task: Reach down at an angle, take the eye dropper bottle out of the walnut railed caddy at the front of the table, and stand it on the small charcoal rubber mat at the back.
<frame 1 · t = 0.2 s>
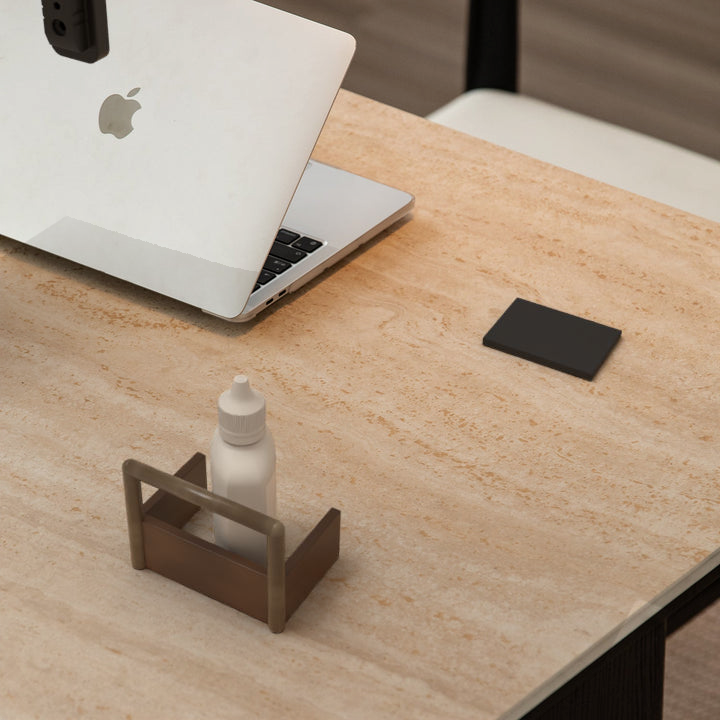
hand: (148, 21, 49), 31 cm above the table, tool pointing down, fingers open, 8 cm apart
eye dropper bottle: (246, 553, 69), on the table
mat: (551, 340, 86), on the table
caddy: (245, 550, 69), on the table
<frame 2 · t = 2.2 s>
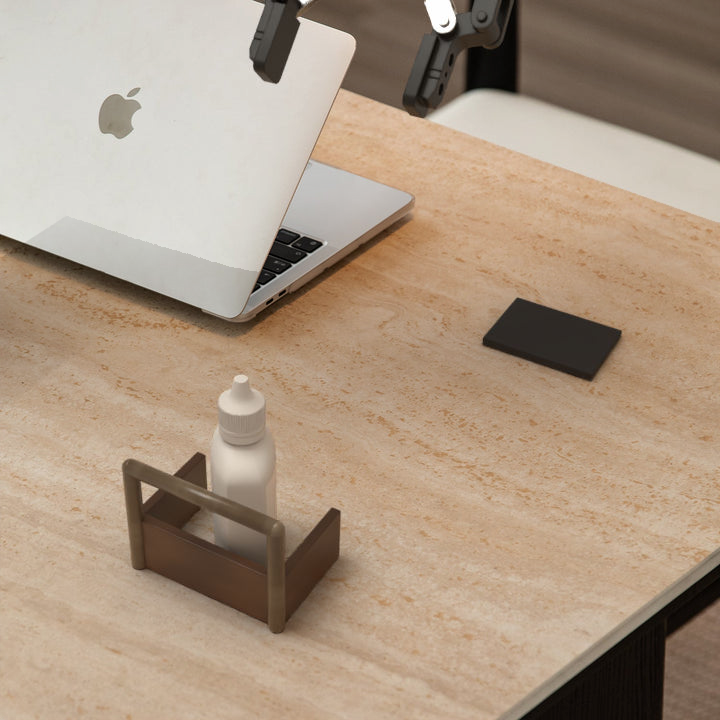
hand: (337, 94, 64), 23 cm above the table, tool tilted 45°, fingers open, 8 cm apart
nothing on the table moved.
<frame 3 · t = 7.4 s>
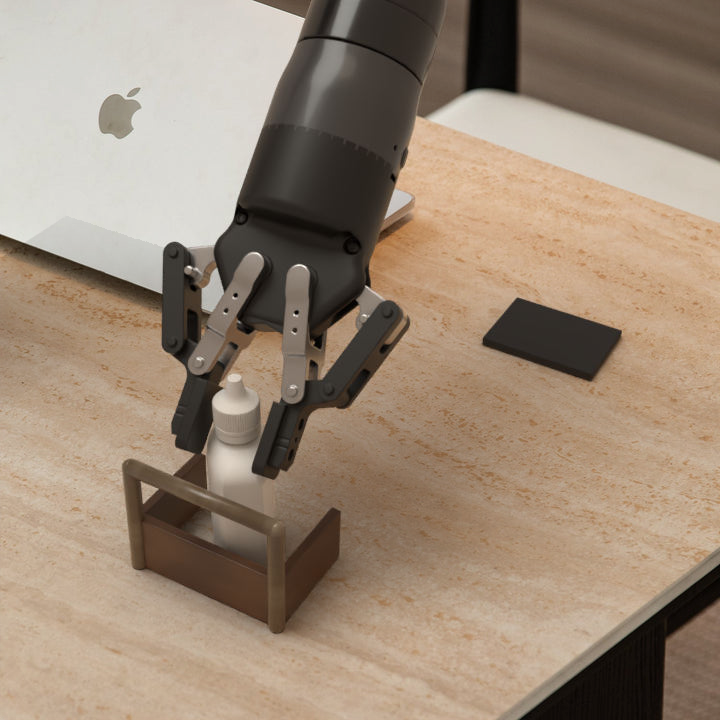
hand: (225, 462, 63), 8 cm above the table, tool tilted 45°, fingers closed on eye dropper bottle, 3 cm apart
eye dropper bottle: (246, 552, 69), on the table, touching gripper
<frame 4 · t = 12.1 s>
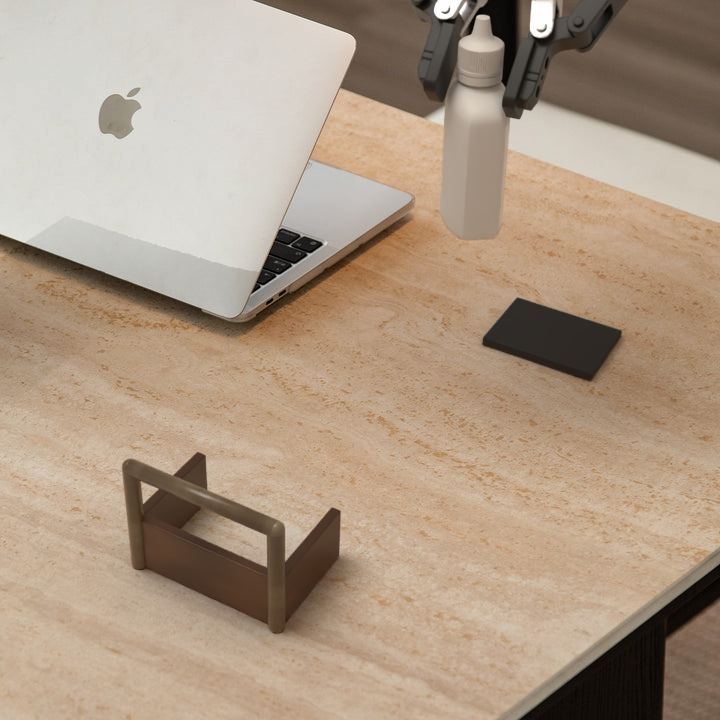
hand: (472, 103, 65), 22 cm above the table, tool tilted 45°, fingers closed on eye dropper bottle, 3 cm apart
eye dropper bottle: (470, 221, 72), point 14 cm above the table, touching gripper
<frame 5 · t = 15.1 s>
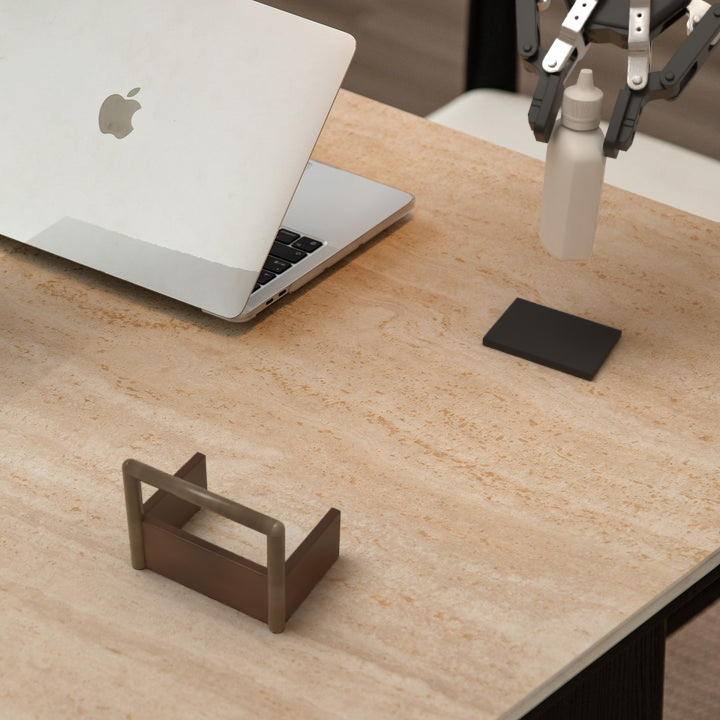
hand: (575, 144, 76), 16 cm above the table, tool tilted 45°, fingers closed on eye dropper bottle, 3 cm apart
eye dropper bottle: (564, 244, 82), point 8 cm above the table, touching gripper
when the fingers open (9 cm above the table, at t = 17.4 s): eye dropper bottle stays where it is, resting on mat.
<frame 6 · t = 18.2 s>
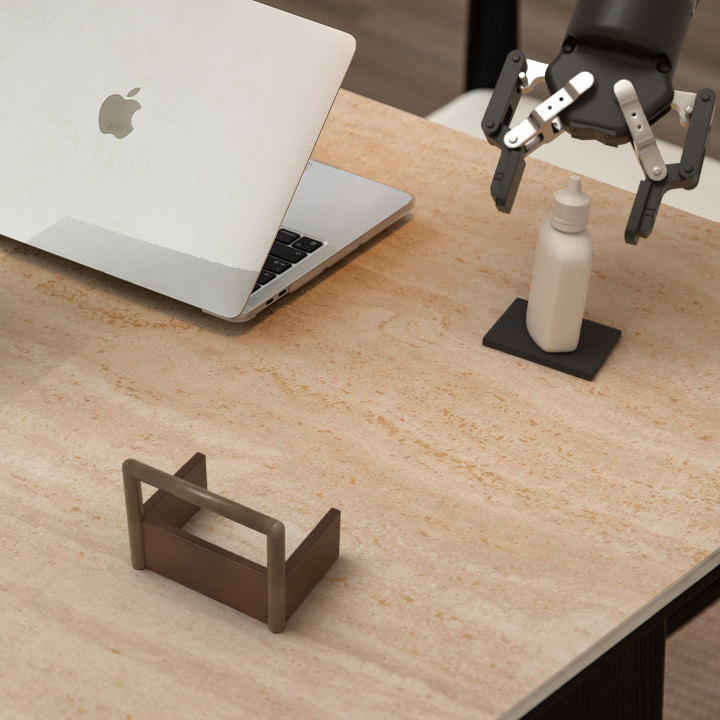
hand: (565, 225, 80), 10 cm above the table, tool tilted 45°, fingers open, 8 cm apart
eye dropper bottle: (551, 334, 86), resting on mat
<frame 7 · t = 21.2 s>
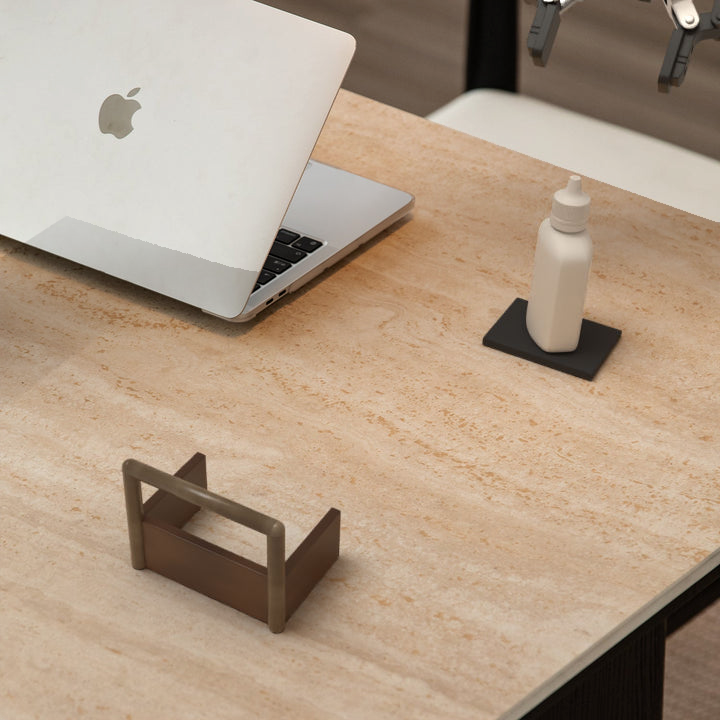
hand: (599, 75, 82), 17 cm above the table, tool tilted 45°, fingers open, 8 cm apart
nothing on the table moved.
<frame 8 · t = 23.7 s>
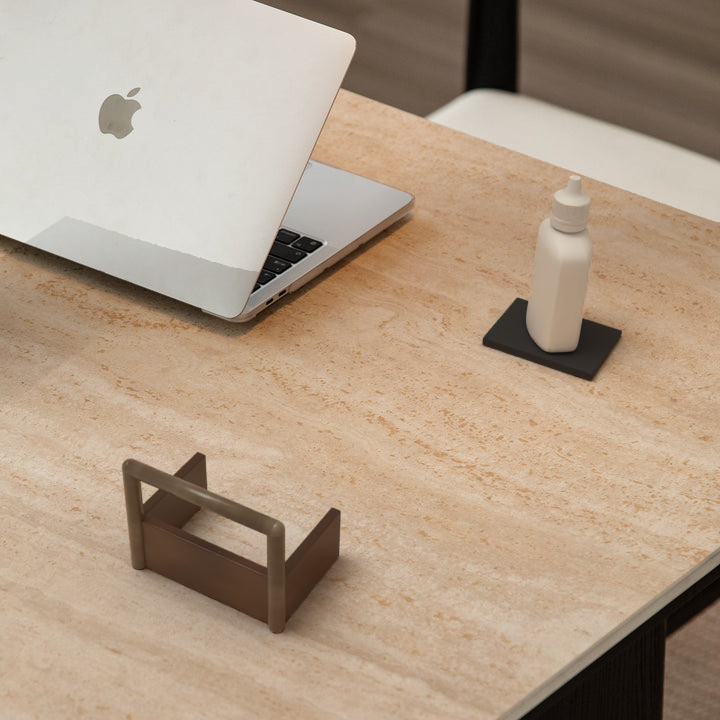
nothing on the table moved.
at the end: eye dropper bottle 0.2 cm off-centre on the mat, point 0.4 cm above the mat's base; eye dropper bottle tilted 0°; the gripper is holding nothing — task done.
